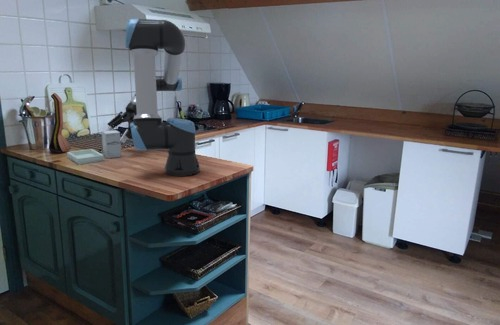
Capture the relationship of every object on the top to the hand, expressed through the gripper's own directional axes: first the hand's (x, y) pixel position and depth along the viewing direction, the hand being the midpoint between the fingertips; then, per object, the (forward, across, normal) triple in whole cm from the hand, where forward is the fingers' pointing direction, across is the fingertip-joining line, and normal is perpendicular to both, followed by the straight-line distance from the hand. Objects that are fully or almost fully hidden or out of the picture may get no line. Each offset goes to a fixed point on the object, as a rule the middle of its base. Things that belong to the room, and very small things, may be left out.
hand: (113, 139), depth 197 cm
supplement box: (+7, -1, -5) cm, 9 cm away
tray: (+15, +4, +4) cm, 16 cm away
